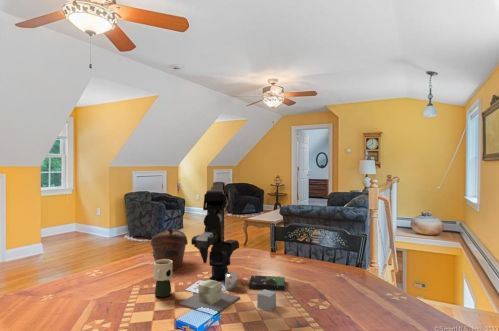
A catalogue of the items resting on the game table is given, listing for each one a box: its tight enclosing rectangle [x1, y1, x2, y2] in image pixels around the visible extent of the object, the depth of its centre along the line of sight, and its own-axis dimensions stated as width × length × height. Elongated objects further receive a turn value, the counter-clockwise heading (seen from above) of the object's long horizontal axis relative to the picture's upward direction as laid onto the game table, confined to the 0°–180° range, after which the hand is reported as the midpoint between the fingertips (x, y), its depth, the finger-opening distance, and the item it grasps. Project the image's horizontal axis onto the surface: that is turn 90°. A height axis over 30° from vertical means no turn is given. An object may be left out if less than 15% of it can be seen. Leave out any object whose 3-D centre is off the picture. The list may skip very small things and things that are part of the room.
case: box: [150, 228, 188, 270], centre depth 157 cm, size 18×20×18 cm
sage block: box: [198, 279, 223, 305], centre depth 116 cm, size 6×6×6 cm
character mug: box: [153, 259, 174, 298], centre depth 121 cm, size 11×7×13 cm, turn 174°
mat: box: [178, 291, 241, 313], centre depth 116 cm, size 16×16×1 cm
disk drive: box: [248, 275, 286, 292], centre depth 132 cm, size 10×3×15 cm
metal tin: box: [224, 271, 238, 292], centre depth 128 cm, size 5×5×6 cm
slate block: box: [256, 289, 277, 312], centre depth 112 cm, size 5×5×5 cm
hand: (214, 265), depth 118 cm, fingers open, 9 cm apart
